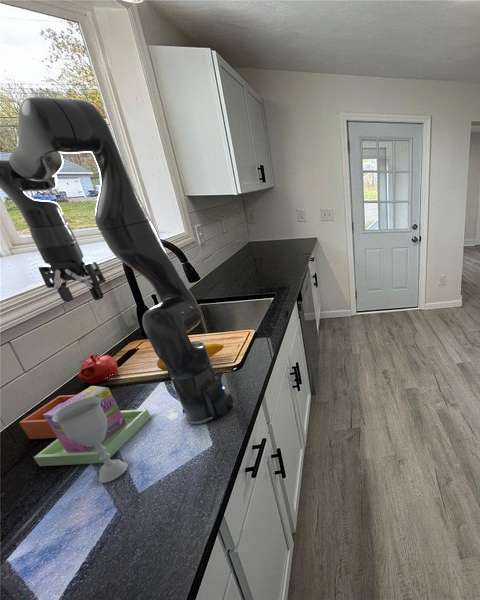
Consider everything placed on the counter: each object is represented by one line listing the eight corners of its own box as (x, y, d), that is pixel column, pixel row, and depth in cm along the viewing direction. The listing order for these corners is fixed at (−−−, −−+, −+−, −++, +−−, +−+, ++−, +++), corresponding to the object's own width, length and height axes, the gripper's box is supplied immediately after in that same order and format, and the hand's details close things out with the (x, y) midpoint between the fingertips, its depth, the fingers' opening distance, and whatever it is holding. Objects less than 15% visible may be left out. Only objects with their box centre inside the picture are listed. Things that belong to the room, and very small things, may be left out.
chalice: (98, 492, 65) (57, 426, 59) (87, 478, 69) (47, 414, 62) (139, 466, 71) (106, 403, 64) (127, 454, 74) (94, 392, 68)
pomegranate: (112, 366, 112) (101, 343, 108) (127, 372, 107) (116, 349, 104) (77, 382, 104) (64, 358, 100) (91, 390, 99) (77, 365, 96)
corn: (153, 349, 105) (219, 331, 115) (161, 367, 109) (225, 348, 119) (152, 360, 100) (222, 340, 110) (160, 379, 103) (227, 358, 113)
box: (84, 455, 74) (60, 416, 69) (65, 452, 75) (41, 414, 70) (127, 423, 83) (109, 386, 79) (110, 421, 84) (91, 385, 80)
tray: (151, 417, 86) (147, 409, 85) (105, 462, 72) (100, 453, 71) (95, 420, 86) (90, 412, 85) (39, 466, 73) (33, 457, 72)
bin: (103, 409, 90) (94, 393, 88) (68, 437, 81) (58, 420, 79) (68, 411, 90) (59, 395, 88) (29, 439, 81) (18, 422, 79)
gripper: (14, 248, 79) (45, 306, 85) (70, 244, 79) (97, 303, 85) (45, 241, 86) (72, 296, 92) (96, 238, 85) (120, 293, 92)
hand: (84, 299), depth 88 cm, fingers open, 8 cm apart
